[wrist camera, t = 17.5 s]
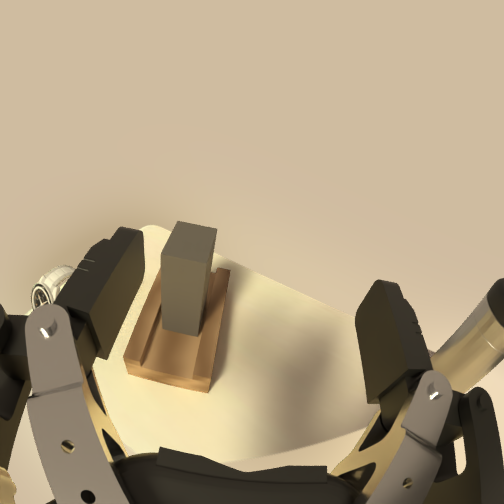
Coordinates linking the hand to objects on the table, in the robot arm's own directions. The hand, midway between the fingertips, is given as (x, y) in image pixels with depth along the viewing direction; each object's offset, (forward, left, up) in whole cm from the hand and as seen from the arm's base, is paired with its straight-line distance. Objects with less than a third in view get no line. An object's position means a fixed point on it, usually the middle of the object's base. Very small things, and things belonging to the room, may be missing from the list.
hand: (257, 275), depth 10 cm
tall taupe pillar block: (+5, -16, -24) cm, 29 cm away
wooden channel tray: (+6, -17, -27) cm, 32 cm away
